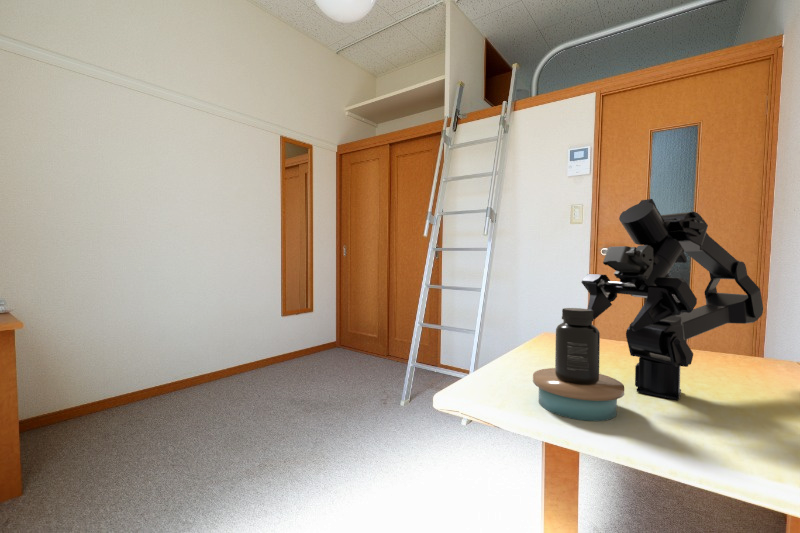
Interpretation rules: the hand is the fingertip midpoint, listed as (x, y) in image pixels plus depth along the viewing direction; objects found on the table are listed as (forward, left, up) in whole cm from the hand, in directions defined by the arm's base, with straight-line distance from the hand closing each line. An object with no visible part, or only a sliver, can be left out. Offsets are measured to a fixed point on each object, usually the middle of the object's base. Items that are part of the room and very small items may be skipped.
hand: (608, 324), depth 66 cm
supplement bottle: (+4, +6, -9) cm, 12 cm away
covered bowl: (+4, +6, -13) cm, 15 cm away
